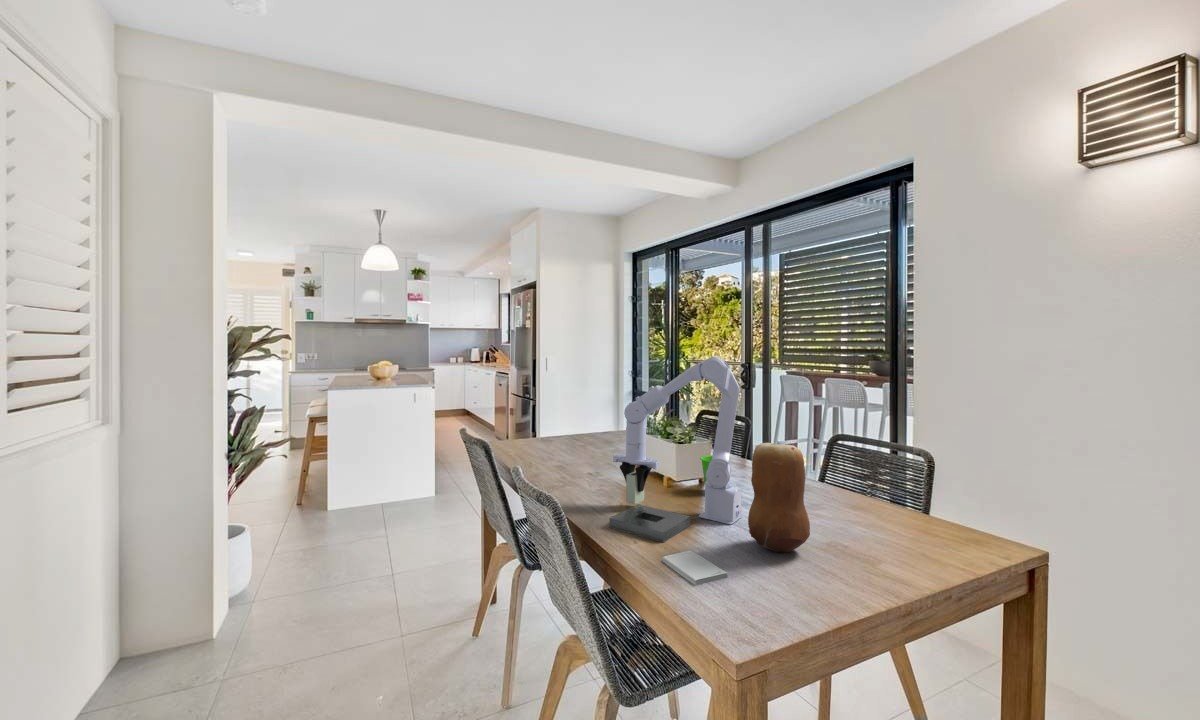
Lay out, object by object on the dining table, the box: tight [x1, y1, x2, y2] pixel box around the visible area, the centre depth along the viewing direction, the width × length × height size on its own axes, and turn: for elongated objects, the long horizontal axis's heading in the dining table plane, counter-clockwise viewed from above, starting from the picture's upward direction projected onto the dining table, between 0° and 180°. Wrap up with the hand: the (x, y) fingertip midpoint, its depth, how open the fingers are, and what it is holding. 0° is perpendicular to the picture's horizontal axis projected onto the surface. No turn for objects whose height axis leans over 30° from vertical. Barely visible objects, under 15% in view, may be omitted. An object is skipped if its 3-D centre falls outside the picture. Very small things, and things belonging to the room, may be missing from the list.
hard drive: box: [661, 550, 729, 586], centre depth 109 cm, size 2×8×12 cm
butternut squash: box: [747, 442, 811, 554], centre depth 119 cm, size 14×13×25 cm
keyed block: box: [625, 470, 645, 505], centre depth 148 cm, size 3×5×8 cm, turn 143°
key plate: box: [608, 503, 691, 544], centre depth 133 cm, size 16×14×2 cm
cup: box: [700, 455, 731, 483], centre depth 163 cm, size 9×9×11 cm
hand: (635, 489), depth 148 cm, fingers closed on keyed block, 3 cm apart
